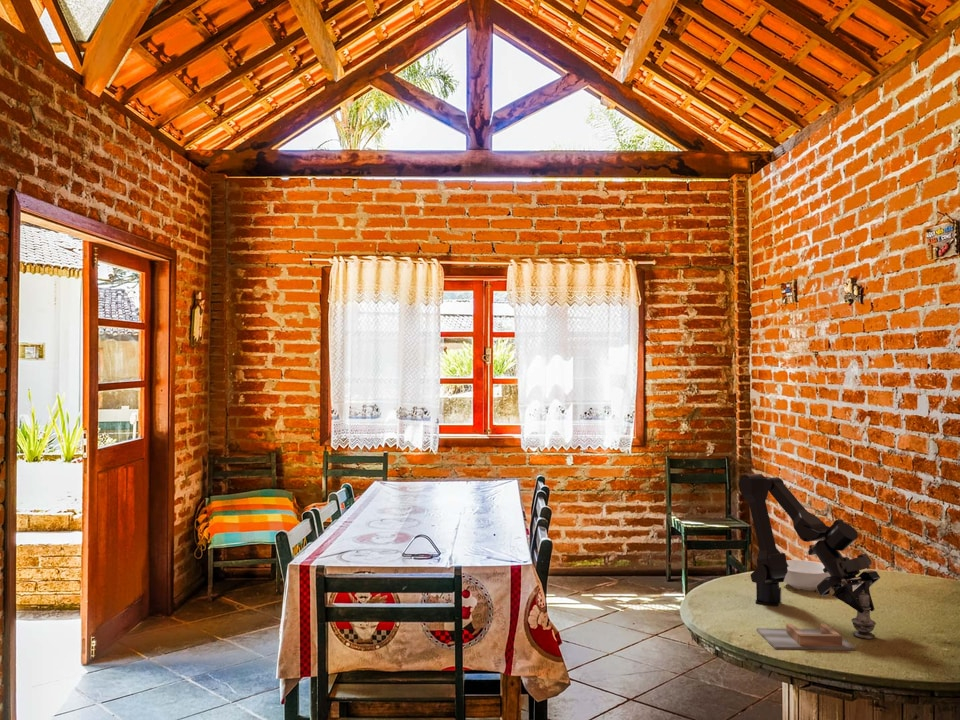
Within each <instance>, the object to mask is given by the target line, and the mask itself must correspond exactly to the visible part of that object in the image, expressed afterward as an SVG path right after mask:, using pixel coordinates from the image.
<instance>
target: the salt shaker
mask: <svg viewBox="0 0 960 720" xmlns="http://www.w3.org/2000/svg"><path fill="white" fill-rule="evenodd" d="M864 592H865V591H864V590H862V593H859V594H858V595H857V599H858V601H859V602H860V604H861V605H862V607H863V609H864V612H863V613H860V612H858V611H857V610H856V617H854V618H851V621H850V622H852V625H853V627H854V628H855V630H854V631H852V635H853V636H855V637H859V638H862V639H874V638H875V637H876V635H875V634H874V633H872V632H873V631H874V629H875V627H876V625H877V622H876V621H875V620H873V619H872V618H871V611H870V609H871V607H869V595H867V594H866V593H864Z"/></svg>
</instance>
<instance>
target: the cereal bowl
mask: <svg viewBox="0 0 960 720" xmlns="http://www.w3.org/2000/svg"><path fill="white" fill-rule="evenodd" d="M786 561H787V564H788V566H789V567H787V569H788V572H787V574H786V576H785V579H784V582H783V583H786V584H787V585H790V586H791V587H792V588H793V589H796V588H797V590H800V589H803V590H802V591H816V590H817V585H818V584H819V583H820V582H822V581H823V580H824V579H825V578H826V577H830V574H829V573H824V571H823V569H824V568H825V567H824V565H823V564H822V562H818V561H812V560H805V559H803V560H802V559H791V560H790V559H788V560H787V559H786ZM815 589H816V590H815Z"/></svg>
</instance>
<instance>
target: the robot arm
mask: <svg viewBox="0 0 960 720" xmlns="http://www.w3.org/2000/svg"><path fill="white" fill-rule="evenodd" d="M738 488H739V491H740V493H741V496H742V498H743V499H744V500H746V502H747V503H748V505H749V510H750V514H751V517H752V522H753V527H754V531H755V536H756V542H757V544H758V550H759V551H758V554H757V557H756V566H757V568H755V569H754V571H752V573H750V580H751V582H752V583H755V584H756V589H755V590H756V591H755V592H756V593H755V595H756V596H755V597H756V600H755V604H760V605H761V604H762V605H768V606H776V607H777V606H779V604H780V603H782V602H781V601H782V587H780V583H785V582H784V579H785V576H786V574H787V572H788V569H787V567H789V566H788V564H787V556H786V555H787V554H786V553H785V552H780V551H779V550H778V548H777V545H776V540H775V538H774V532H773V529H772V524H771V523H772V522H771V519H770V515H769V510H768V506H767V501H766V500H767V497H768V494H770V495H771V496H772V497H773V499H774V500H775V501H776V502H777V503H778V505H779V506H780V507H781V508H782V509H783V510H784V512H785V513H786V514H787V515H788V516H789V518H790V519H791V521H792V524H793V529H794V531H795V532H796V534H797V536H798V538H799V539H800V540H801V541H803V542H809V543H810V542H815V544H809V545H808V552H807V554H808V556H813V555H816V556H817V558H818V559H819V560H820V563H822V564H823V565H824V567H825V568H824V569H823V571H824V573H829V574H830V577H826V578H825V579H824V580H823V581H822V582H820V583H819V584H818V585H817V589H816V591H817V593H818V594H819V596H820V597H826V596H829V595H830V590H833V594H832V595H831V596H832V597H833V598H836V599H837V600H840V601H841V602H843V603H844V604H846V605H847V606H849V607H851V608H852V609H853V610H855V611H856V612H857V611H858V612H860V613H863V612H864V609H863V607H862V605H861V604H860V602H859V601H858V599H857V595H858V594H859V593H862V590H864V591H865V592H864V593H866V594H867V595H869V607H871V609H870V612H874V611H875V610H876V609H875V605H874V603H873V599H872V596H871V591H870V587H872V586H873V585H874V584H875V583H877V581H879V580H880V579H881V576H880V575H879V573H878V571H876V570H873V569H871V565H872V564H873V562H872V559H871V557H869V556H868V554H867V553H862V554H858V555H857V556H856V557H855V558H851V559H850V558H849V557H848V556H843V554H842V553H841V552H844V551H845V550H846V549H847V548H849V547H850V545H852V544H853V543H854V542H855V541H856V540H857V539H858V538H859V535H858V532H857V529H856V528H854V527H853V526H852V525H850V524H849V523H846V522H845V521H843V519H841V518H840V519H836V520H835V521H833V523H832V525H829V526H828V525H826V524H825V522H824V521H823V520H822V519H820V518H819V517H818V516H817V515H815V514H814V513H811V512H809V511H808V510H807V509H806V508H805V507H804V506H803V504H802V503H801V502H800V501H799V500H798V498H797V497H796V496H795V495H794V494H793V493H792V492H791V490H790V489H789V488H788V487H787V486H786V485H785V483H784V480H783V479H782V478H780V477H775V476H774V477H771V476H769V477H768V476H764V475H763V474H761V473H751V474H743V475H741V476H740V478H739V480H738ZM869 569H871V570H869ZM862 570H864V571H862ZM861 571H862V572H861Z"/></svg>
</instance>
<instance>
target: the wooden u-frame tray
mask: <svg viewBox="0 0 960 720" xmlns="http://www.w3.org/2000/svg"><path fill="white" fill-rule="evenodd" d="M785 624H786V626H785V628H766V627H765V628H762V627H761V628H757V627H756V631H757V633H758V634H759V633H760V636H761V637H762V638H763V639H764V640H765V641H766V642H767V643H768V644H769V645H770V646H771V647H772V648H773V650H774V649H775V650H811V649H814V650H818V649H821V650H822V651H824V650H826V651H827V650H829V651H856V648H855V646H854V645H852V644H851V643H850V642H848V641H847V640H845V639H844V638H843V636H842V635H841V634H839V632H837V631H836V630H835V629H833V628H832V627H831V626H829V625H828V624H827V623H820V628H797V626H796V625H794V624H793V623H785ZM821 650H820V651H821Z"/></svg>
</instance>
